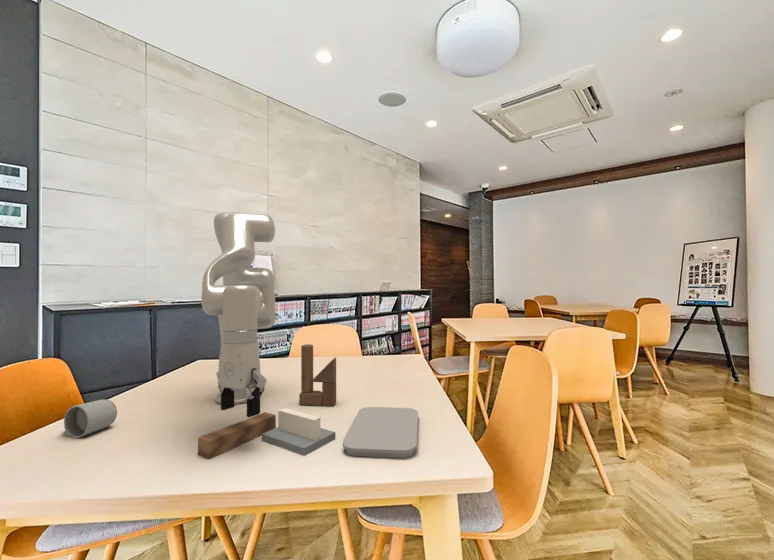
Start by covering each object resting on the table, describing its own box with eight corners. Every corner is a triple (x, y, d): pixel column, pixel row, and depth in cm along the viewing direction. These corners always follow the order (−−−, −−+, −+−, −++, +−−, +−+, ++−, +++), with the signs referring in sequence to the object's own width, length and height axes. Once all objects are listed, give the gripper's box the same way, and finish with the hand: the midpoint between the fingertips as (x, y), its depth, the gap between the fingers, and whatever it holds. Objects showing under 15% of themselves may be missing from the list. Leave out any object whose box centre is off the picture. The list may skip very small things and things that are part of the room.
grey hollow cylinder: (119, 426, 93) (119, 396, 93) (87, 439, 85) (87, 406, 85) (86, 424, 95) (86, 395, 95) (52, 436, 87) (52, 405, 87)
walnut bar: (209, 460, 75) (209, 441, 75) (197, 456, 77) (198, 437, 77) (275, 430, 91) (275, 414, 91) (264, 427, 93) (264, 412, 93)
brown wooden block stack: (333, 406, 107) (333, 346, 108) (298, 405, 109) (298, 346, 109) (336, 402, 111) (336, 344, 111) (303, 401, 112) (303, 344, 113)
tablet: (339, 458, 76) (339, 447, 76) (360, 414, 102) (360, 406, 102) (416, 461, 74) (416, 450, 74) (418, 416, 100) (418, 408, 100)
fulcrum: (261, 440, 84) (261, 414, 84) (294, 426, 93) (294, 402, 93) (304, 455, 77) (304, 427, 77) (335, 438, 85) (335, 413, 85)
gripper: (203, 337, 86) (203, 410, 85) (249, 341, 76) (249, 423, 75) (232, 334, 92) (232, 402, 91) (277, 337, 82) (278, 413, 82)
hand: (240, 411), depth 83 cm, fingers open, 9 cm apart
